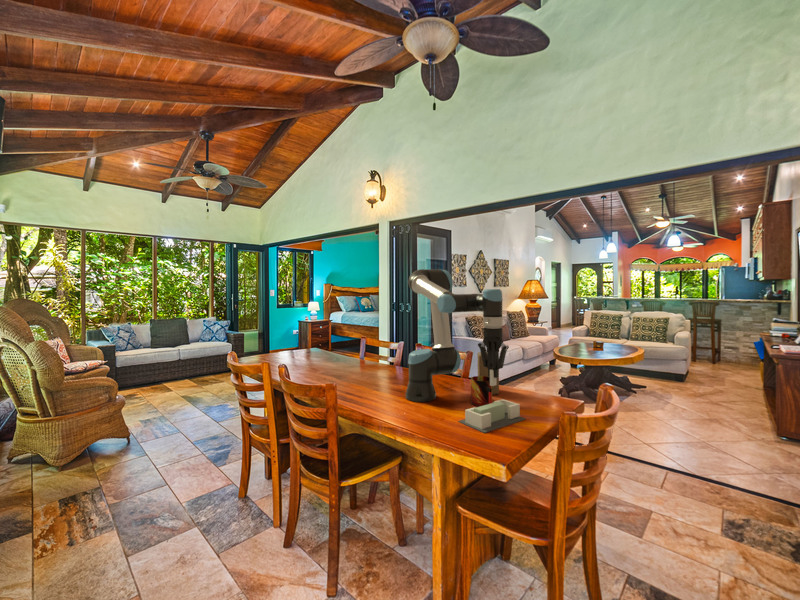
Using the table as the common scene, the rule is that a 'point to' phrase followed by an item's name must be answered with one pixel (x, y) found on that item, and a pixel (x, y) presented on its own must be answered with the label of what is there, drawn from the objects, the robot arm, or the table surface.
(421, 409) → the table surface
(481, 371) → the wooden block
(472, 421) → the cap
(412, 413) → the table surface
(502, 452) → the table surface
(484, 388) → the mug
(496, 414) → the slat
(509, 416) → the cap
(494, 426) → the mat
